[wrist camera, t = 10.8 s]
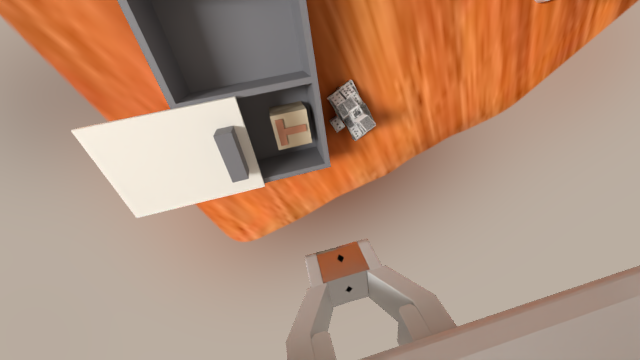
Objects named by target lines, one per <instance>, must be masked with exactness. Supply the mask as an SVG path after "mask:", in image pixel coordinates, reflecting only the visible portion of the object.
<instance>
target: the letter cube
mask: <svg viewBox="0 0 640 360" xmlns="http://www.w3.org/2000/svg"><path fill="white" fill-rule="evenodd" d="M269 114H270V119H271V123H272V126H273V130H274V134H275V138H276V141H277V145H278V149H279V150H282V149H286V148H291V147H295V146H299V145H304V144H308V143H312V138H311V133H310V128H309V122H308V117H307V111H306V108H305V107H304V105H303V104H302V102H301V101H298V102H293V103H289V104H284V105H279V106H274V107H270V108H269Z"/></svg>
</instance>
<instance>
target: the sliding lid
mask: <svg viewBox="0 0 640 360" xmlns="http://www.w3.org/2000/svg"><path fill="white" fill-rule="evenodd" d="M71 132H72V133H73V134H74V135H75V137H76V138H77V139H78V141H79V142H80V143H81V145H82V146H83V147H84V149H85V150H86V151H87V153H88V154H89V155H90V157H91V158H92V159H93V161H94V162H95V163H96V165H97V166H98V167H99V169H100V170H101V171H102V173H103V174H104V175H105V176H106V178H107V179H108V181H109V182H110V183H111V184H112V186H113V187H114V188H115V190H116V191H117V193H118V194H119V195H120V197H121V198H122V199H123V201H124V202H125V203H126V205H127V206H128V207H129V208H130V210H131V211H132V213H133V214H134V215H135V216H136V218H139V217H143V216H147V215H151V214H155V213H159V212H163V211H167V210H171V209H175V208H180V207H184V206H188V205H192V204H196V203H200V202H204V201H208V200H212V199H216V198H220V197H224V196H228V195H232V194H236V193H240V192H244V191H249V190H253V189H257V188H261V187H265V183H264V180H263V177H262V174H261V171H260V169H259V166H258V163H257V160H256V157H255V154H254V151H253V148H252V145H251V142H250V139H249V136H248V133H247V130H246V127H245V124H244V121H243V118H242V115H241V112H240V109H239V106H238V103H237V100H236V97H235V96H233V97H228V98H223V99H218V100H213V101H208V102H203V103H199V104H194V105H189V106H184V107H179V108H174V109H169V110H164V111H159V112H154V113H150V114H145V115H140V116H135V117H130V118H125V119H120V120H115V121H110V122H106V123H101V124H96V125H91V126H86V127H81V128H76V129H73V130H71Z"/></svg>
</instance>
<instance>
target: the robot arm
mask: <svg viewBox="0 0 640 360" xmlns="http://www.w3.org/2000/svg"><path fill="white" fill-rule="evenodd" d="M535 1H536V2H537V3H542V2H546V1H549V0H535ZM316 256H317V257H316ZM305 261H306V265H307V271H308V275H309V280H310V285H311V287H310V288H308V289H307V291H306V294H305V296H304V299H303V301H302V304H301V306H300V309H299V311H298V314H297V316H296V318H295V321H294V323H293V326H292V328H291V331H290V333H289V336H288V338H287V341H286V348H287V360H336V356H335V352H334V349H333V345H332V341H331V338H330V334H329V333H328V328H329V324H330V320H331V316H332V312H333V307H336V306H338V305H341V304H344V303H347V302H350V301H354V300H358V299H361V298H365V297H368V296H369V298H371V299H372V300H373V301H374V302H375V303H376V304H378V305H379V306H380V307H381V308H382V309H383V310H385V311H386V312H387V313H388V314H389V315H391V316H392V317H393V318H394V319H395V320H396V321H398V339H397V341H398V344H399V346H398V347H395V348H392V349H389V350H387V351H383V352H380V353H377V354H375V355H371V356H369V357H365V358H362V359H360V360H640V266H637V267H634V268H631V269H628V270H625V271H622V272H619V273H616V274H613V275H610V276H607V277H604V278H601V279H598V280H595V281H592V282H589V283H586V284H583V285H580V286H577V287H574V288H571V289H568V290H565V291H562V292H559V293H556V294H553V295H550V296H547V297H544V298H541V299H538V300H536V301H533V302H529V303H526V304H524V305H520V306H517V307H515V308H512V309H509V310H506V311H503V312H500V313H497V314H494V315H491V316H488V317H485V318H482V319H479V320H476V321H473V322H470V323H467V324H464V325H461V326H458V327H457V326H456V324H455V323H454V321H453V320H452V319H451V317H450V316H449V314H448V313H447V312H446V310H445V308H444V307H443V306H442V304H441V303H440V301H439V300H438V298H437V297H436V295H434V294H433V293H431V292H430V291H428V290H426V289H424V288H423V287H421V286H419V285H418V284H416V283H414V282H413V281H411V280H409V279H408V278H406V277H404V276H403V275H401V274H399V273H398V272H396V271H394V270H393V269H391V268H389V267H387V266H386V265H385V266H382V264H381V263H380V261H379V259H378V257H377V255H376V254H375V252H374V250H373V248H372V246H371V244H370V242H369V241H368V239H364V240H360V241H357V242H352V243H349V244H346V245H342V246H339V247H336V248H333V249H329V250H325V251H321V252H317V253H314V254H310V255H307V256H305Z"/></svg>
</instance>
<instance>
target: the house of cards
mask: <svg viewBox="0 0 640 360" xmlns="http://www.w3.org/2000/svg"><path fill="white" fill-rule="evenodd" d="M338 88H339V90H338V89H337V88H336V89H337V90H336V91H335V92H334V93H332V94H331V95H330V96H328V97H327V98H326V99H327V100H329V101H330V103H331V104H332V106H333V108H334V109H336V110H335V112H336V113H337V115H338V116H337V115H336V116H335V117H333V118H332V119H331V120H329V122H330V123H331V124H332V126H333V127H334V129H335V130H336V132H337V133H338V132H339V131H341V130H342V129H344V128H345V125H344V123H345V124H346V126H347V127H348V128H347V129H348V130H349V132H350V134H351V135H352V139H353V140H355V141H356V140H358V139H359V138H361V137H362V136H363V135H365V134H366V133H367V132H368V131H370V130H371V129H372V128H374V126H376V123H375V122H374V120H373V118H372V116H371V115H370V114H371V113H370V111H369V109H368V107H367V105H366V104H365V103H363V101H362V99H361V97H360V96H359V93H358V91H357V89H356V87H355V85H354V83H353V81H352V80H349V81H347V82H346V83H345V84H343V85H342V86H341V87H338ZM342 120H343V121H344V123H343V122H342Z"/></svg>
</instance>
